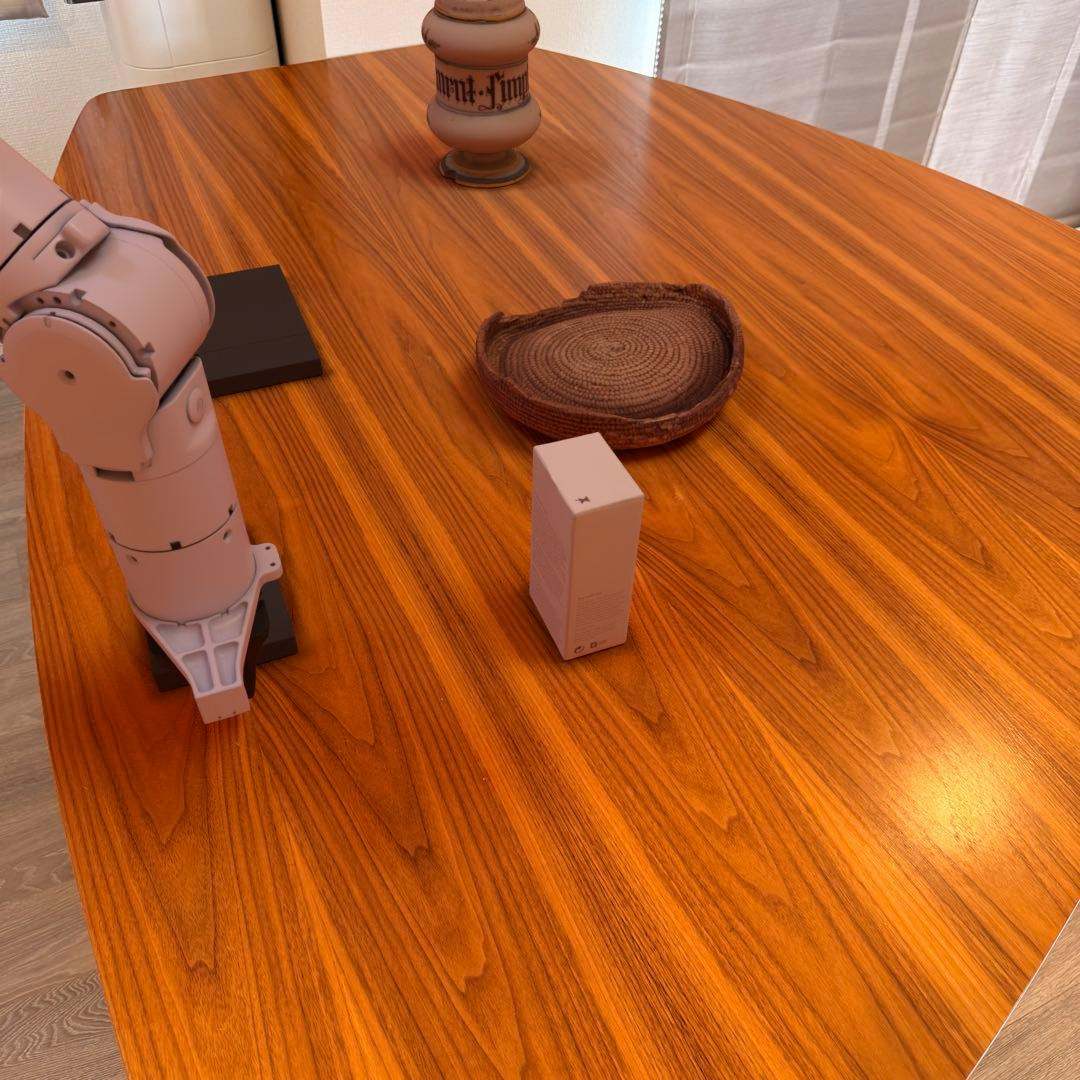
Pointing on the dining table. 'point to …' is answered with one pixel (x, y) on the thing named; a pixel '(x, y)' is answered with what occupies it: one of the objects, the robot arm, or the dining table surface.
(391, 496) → the dining table surface
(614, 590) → the cosmetic box
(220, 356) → the big pad
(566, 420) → the basket
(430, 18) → the apothecary jar
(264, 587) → the small pad
